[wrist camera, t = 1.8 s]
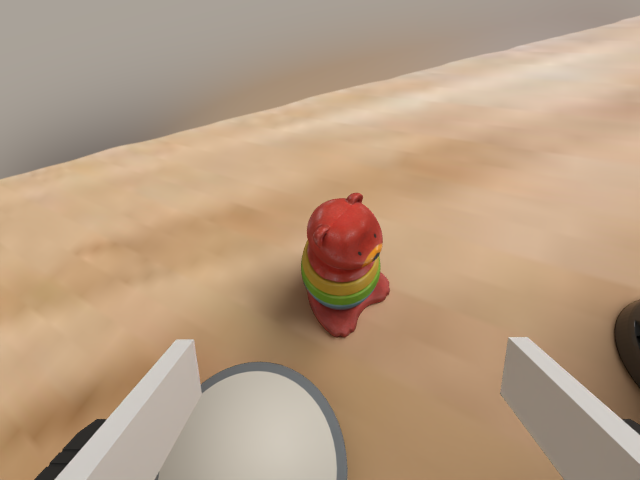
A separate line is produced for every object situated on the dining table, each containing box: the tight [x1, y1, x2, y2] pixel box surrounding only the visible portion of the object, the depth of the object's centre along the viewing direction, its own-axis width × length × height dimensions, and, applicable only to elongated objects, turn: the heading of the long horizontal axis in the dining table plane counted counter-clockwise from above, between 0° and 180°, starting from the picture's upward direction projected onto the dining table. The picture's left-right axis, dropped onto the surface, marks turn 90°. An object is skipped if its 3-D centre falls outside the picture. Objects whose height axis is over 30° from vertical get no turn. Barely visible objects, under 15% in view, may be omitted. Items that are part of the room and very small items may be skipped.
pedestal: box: [155, 362, 347, 480], centre depth 30 cm, size 19×19×4 cm
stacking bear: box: [301, 193, 390, 337], centre depth 34 cm, size 11×10×18 cm
